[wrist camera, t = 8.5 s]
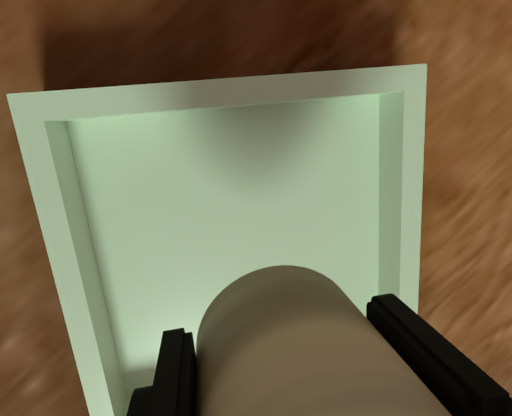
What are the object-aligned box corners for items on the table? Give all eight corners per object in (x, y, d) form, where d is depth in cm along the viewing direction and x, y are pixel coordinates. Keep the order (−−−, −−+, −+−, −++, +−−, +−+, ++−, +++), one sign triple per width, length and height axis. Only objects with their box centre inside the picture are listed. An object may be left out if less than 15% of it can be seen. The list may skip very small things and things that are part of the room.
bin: (44, 100, 15) (6, 93, 12) (388, 74, 17) (427, 63, 14) (115, 402, 19) (99, 453, 16) (385, 350, 21) (414, 386, 18)
